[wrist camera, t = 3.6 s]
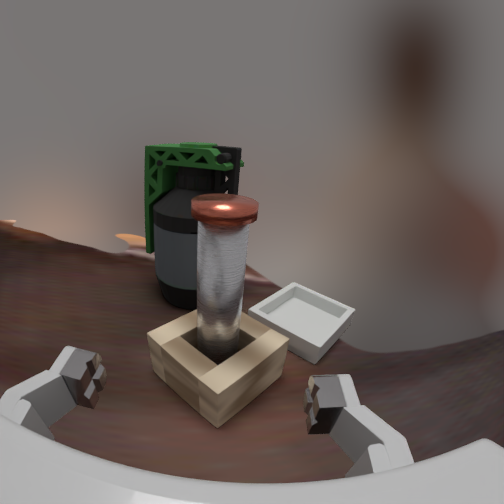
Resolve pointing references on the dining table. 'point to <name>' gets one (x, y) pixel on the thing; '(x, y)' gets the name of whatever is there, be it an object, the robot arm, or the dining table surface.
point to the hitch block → (217, 366)
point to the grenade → (182, 208)
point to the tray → (304, 319)
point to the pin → (221, 270)
